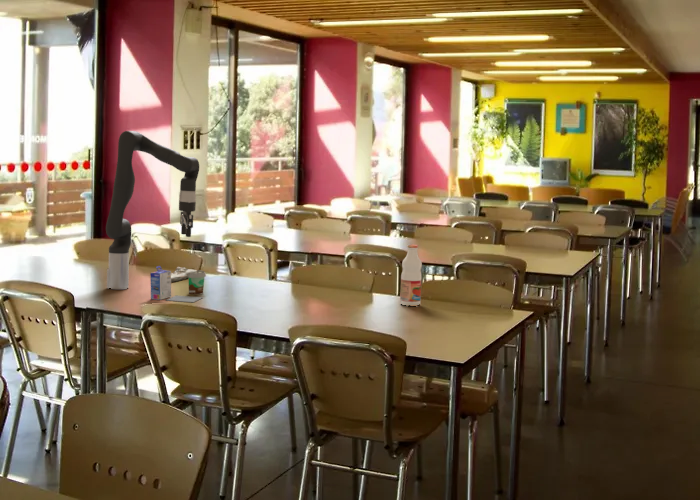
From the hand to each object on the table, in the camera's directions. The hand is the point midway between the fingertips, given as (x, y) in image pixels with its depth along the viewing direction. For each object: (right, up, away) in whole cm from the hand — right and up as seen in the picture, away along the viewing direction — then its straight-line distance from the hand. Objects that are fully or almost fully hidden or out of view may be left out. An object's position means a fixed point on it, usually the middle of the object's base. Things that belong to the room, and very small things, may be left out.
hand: (185, 235), depth 417 cm
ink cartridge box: (-10, -29, -7) cm, 31 cm away
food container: (+4, -27, +11) cm, 30 cm away
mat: (+1, -29, -8) cm, 30 cm away
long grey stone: (-13, -22, +51) cm, 57 cm away
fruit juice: (+104, -32, 0) cm, 108 cm away
